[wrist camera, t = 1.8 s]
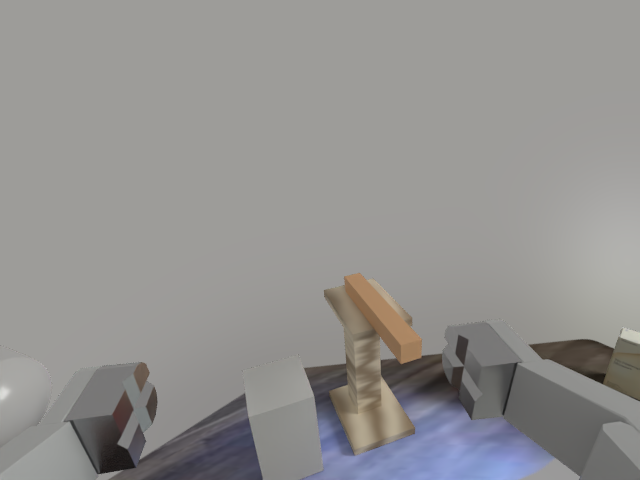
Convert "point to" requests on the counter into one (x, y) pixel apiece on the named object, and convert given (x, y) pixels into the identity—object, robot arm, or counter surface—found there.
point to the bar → (384, 319)
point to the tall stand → (366, 378)
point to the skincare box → (625, 364)
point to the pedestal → (283, 419)
